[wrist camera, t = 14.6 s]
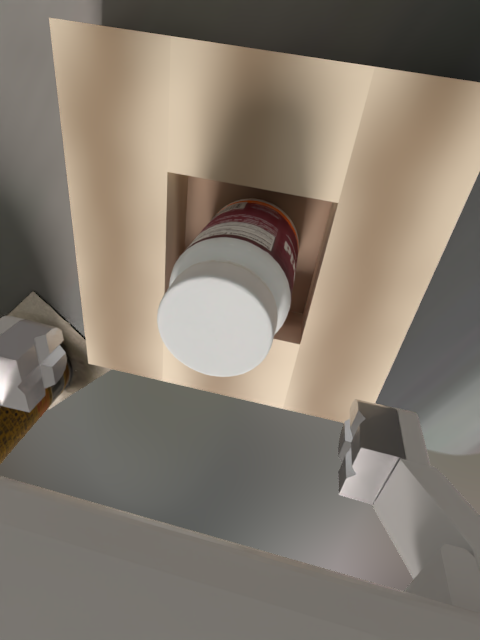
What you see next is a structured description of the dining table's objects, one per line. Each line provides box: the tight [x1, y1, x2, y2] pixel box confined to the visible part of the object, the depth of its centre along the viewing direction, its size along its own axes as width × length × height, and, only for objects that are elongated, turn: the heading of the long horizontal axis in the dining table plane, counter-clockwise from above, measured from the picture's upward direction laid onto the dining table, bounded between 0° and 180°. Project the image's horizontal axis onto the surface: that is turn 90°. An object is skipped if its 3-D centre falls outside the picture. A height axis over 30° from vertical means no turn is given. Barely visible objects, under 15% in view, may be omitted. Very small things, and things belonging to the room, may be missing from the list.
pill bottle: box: [157, 198, 299, 377], centre depth 16 cm, size 5×5×8 cm
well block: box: [49, 18, 480, 423], centre depth 19 cm, size 16×16×4 cm
